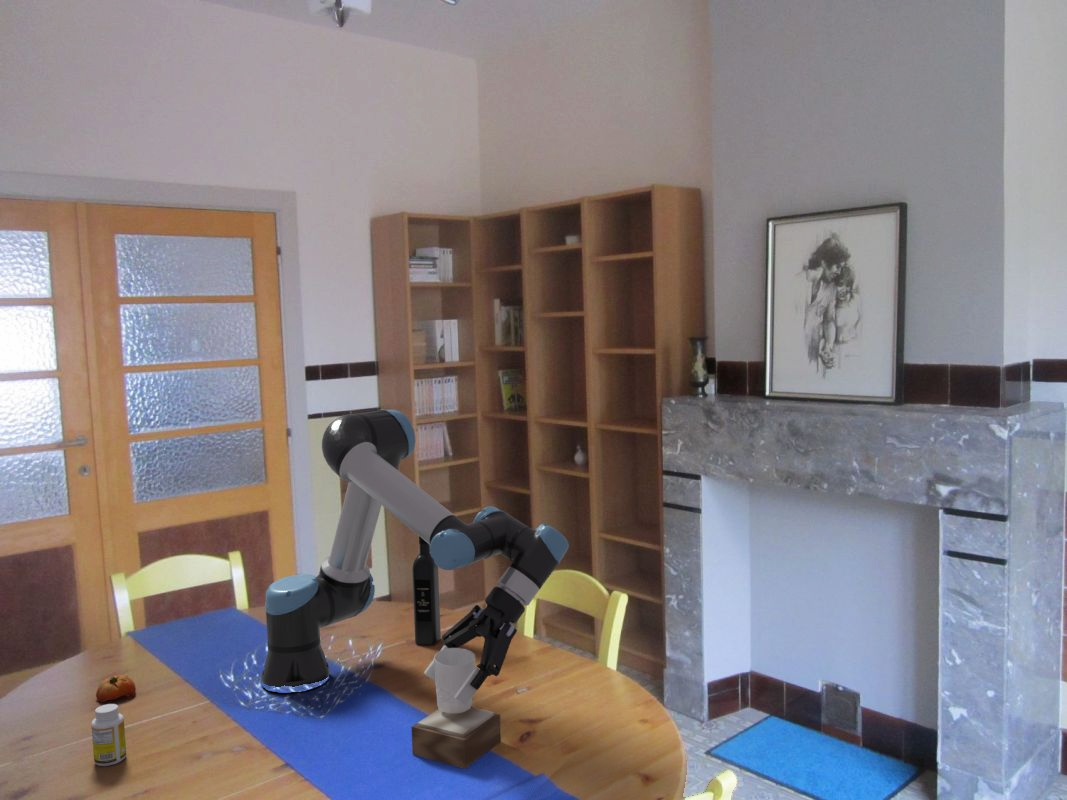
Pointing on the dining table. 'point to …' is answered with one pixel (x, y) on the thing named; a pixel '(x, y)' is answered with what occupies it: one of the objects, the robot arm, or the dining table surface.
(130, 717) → the dining table surface
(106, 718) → the supplement bottle
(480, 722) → the base
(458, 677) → the white cup
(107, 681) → the tomato
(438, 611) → the wine bottle
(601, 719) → the dining table surface
